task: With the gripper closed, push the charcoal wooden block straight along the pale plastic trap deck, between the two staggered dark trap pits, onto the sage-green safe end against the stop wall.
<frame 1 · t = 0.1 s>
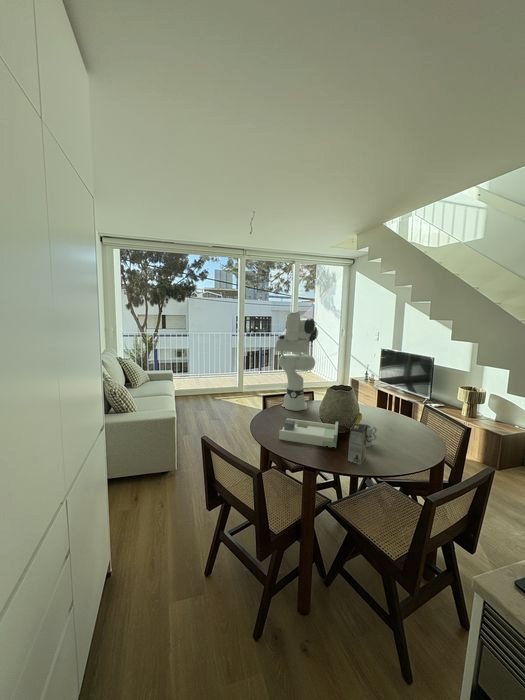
hand: (290, 359, 192), 39 cm above the table, tool pointing down, fingers open, 8 cm apart
block: (289, 428, 173), point 3 cm above the table, touching trap deck
plant pot: (351, 428, 184), on the table
coffee box: (356, 459, 145), on the table
mug: (365, 444, 163), on the table
trap deck: (309, 436, 170), on the table
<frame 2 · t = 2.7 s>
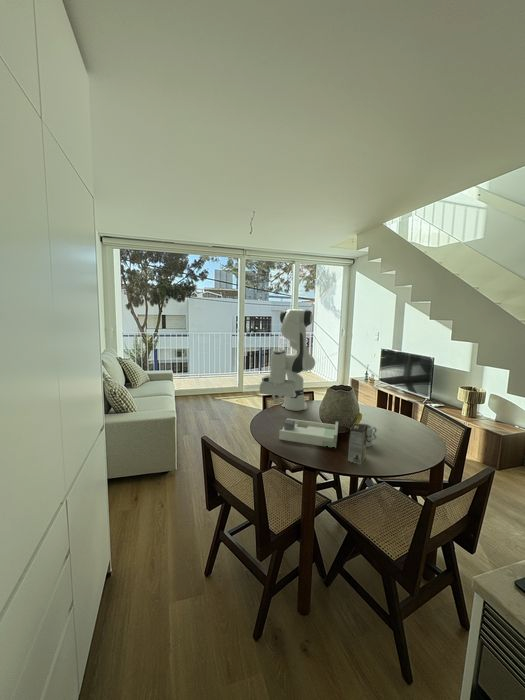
hand: (276, 402, 173), 17 cm above the table, tool pointing down, fingers closed
nothing on the table moved.
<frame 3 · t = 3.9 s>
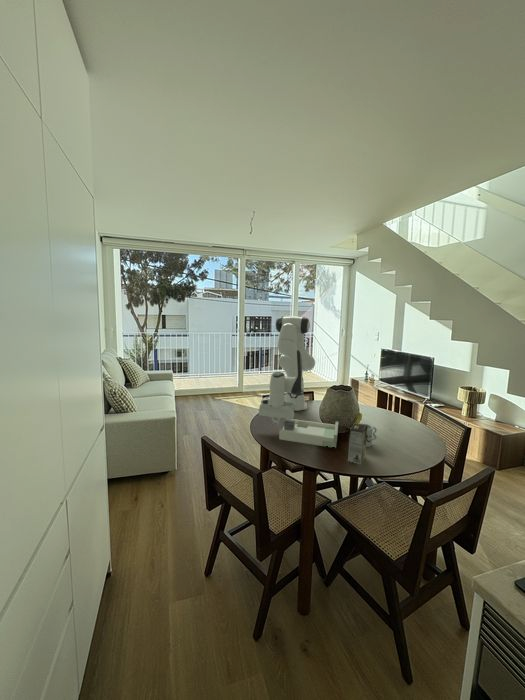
hand: (275, 424, 175), 4 cm above the table, tool pointing down, fingers closed
nothing on the table moved.
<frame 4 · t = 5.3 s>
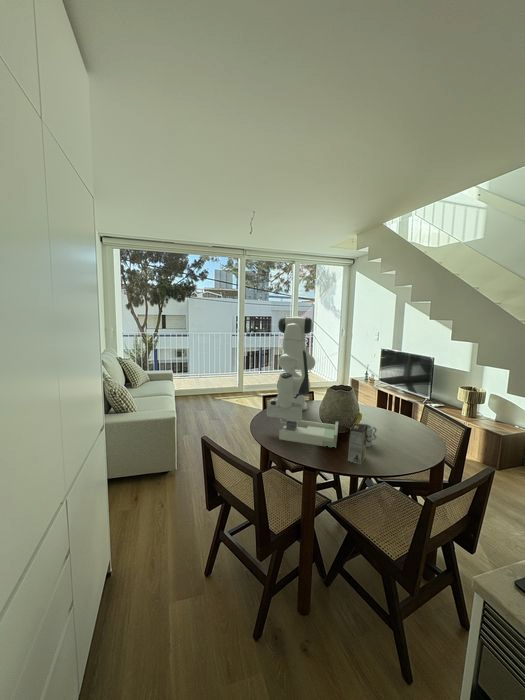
hand: (283, 425, 174), 4 cm above the table, tool pointing down, fingers closed
block: (291, 428, 172), point 3 cm above the table, touching gripper
everything else where it was.
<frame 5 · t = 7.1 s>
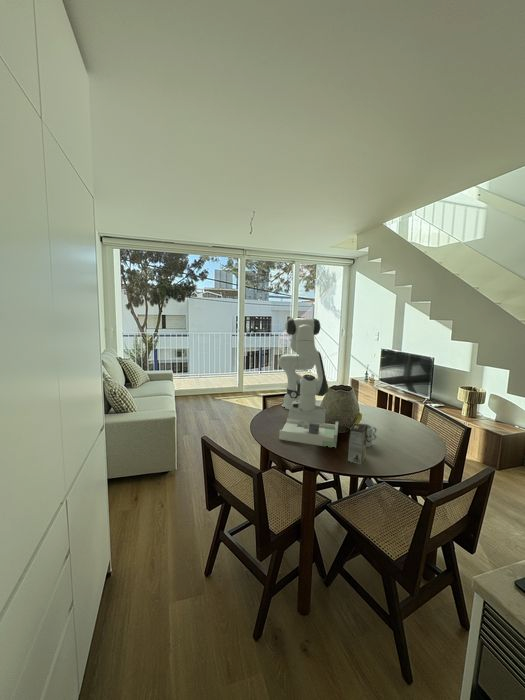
hand: (306, 428, 170), 4 cm above the table, tool pointing down, fingers closed
block: (313, 431, 169), point 3 cm above the table, touching gripper
everything else where it was.
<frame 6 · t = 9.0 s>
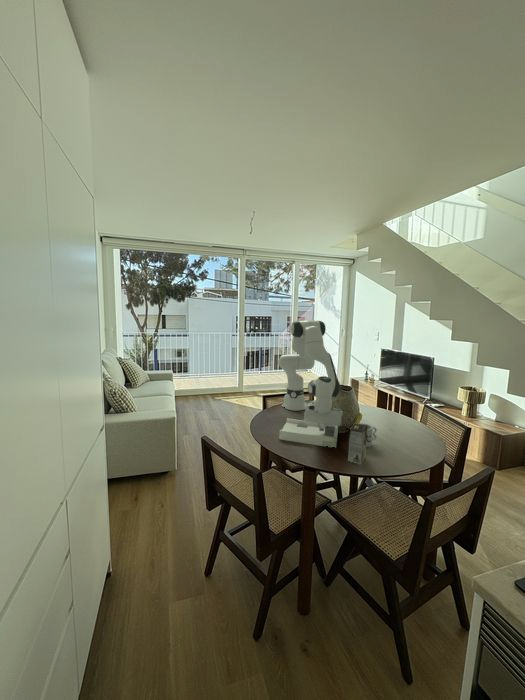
hand: (321, 430, 168), 4 cm above the table, tool pointing down, fingers closed
block: (329, 434, 167), point 3 cm above the table, touching gripper, trap deck
everything else where it was.
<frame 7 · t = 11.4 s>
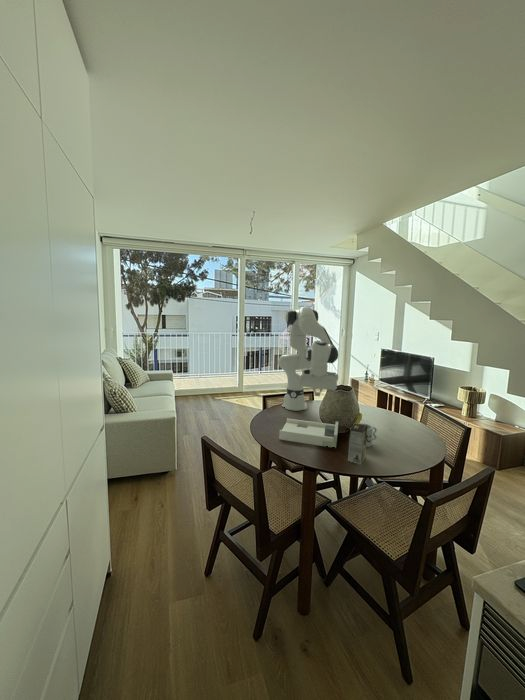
hand: (317, 395, 166), 24 cm above the table, tool pointing down, fingers closed
block: (329, 434, 167), point 3 cm above the table, touching trap deck
everything else where it was.
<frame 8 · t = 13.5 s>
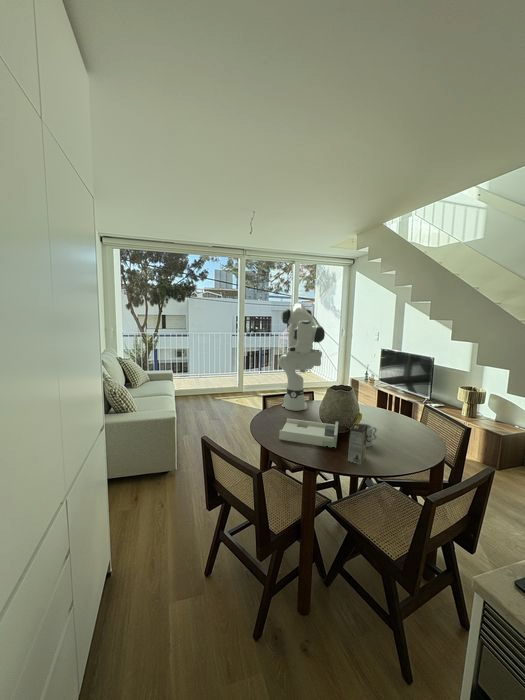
hand: (302, 372, 176), 34 cm above the table, tool pointing down, fingers closed
nothing on the table moved.
at the end: block inside the target area (0.5 cm from its centre), point 3.0 cm above the table; block tilted 0° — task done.
